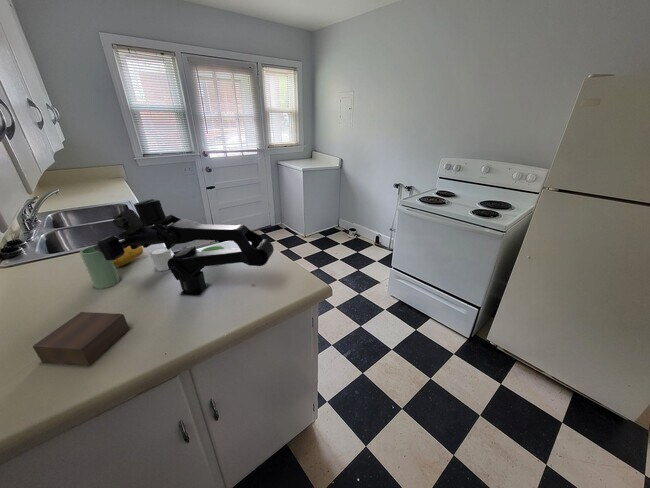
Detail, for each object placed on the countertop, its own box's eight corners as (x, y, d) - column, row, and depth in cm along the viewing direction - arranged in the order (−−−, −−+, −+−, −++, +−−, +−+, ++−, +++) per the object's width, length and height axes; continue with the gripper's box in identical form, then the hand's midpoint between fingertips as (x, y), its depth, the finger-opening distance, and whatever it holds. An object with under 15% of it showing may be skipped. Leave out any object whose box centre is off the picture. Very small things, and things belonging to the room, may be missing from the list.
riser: (129, 328, 72) (123, 313, 70) (89, 365, 61) (81, 349, 59) (88, 326, 73) (81, 311, 71) (42, 362, 62) (32, 346, 60)
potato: (102, 268, 102) (96, 252, 99) (137, 253, 114) (132, 238, 111) (115, 272, 100) (109, 255, 97) (150, 256, 111) (145, 241, 108)
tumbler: (124, 278, 96) (112, 244, 91) (108, 289, 90) (94, 254, 84) (106, 277, 97) (93, 244, 91) (89, 288, 90) (73, 253, 85)
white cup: (165, 272, 99) (160, 255, 96) (150, 270, 100) (144, 254, 98) (178, 263, 105) (174, 247, 102) (163, 262, 107) (158, 246, 104)
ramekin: (217, 253, 113) (215, 244, 111) (231, 259, 108) (229, 249, 106) (197, 262, 106) (195, 252, 104) (210, 268, 101) (208, 258, 99)
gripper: (160, 201, 87) (118, 208, 89) (113, 220, 70) (63, 228, 73) (173, 233, 91) (133, 238, 94) (132, 258, 74) (85, 264, 77)
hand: (107, 241), depth 84 cm, fingers open, 9 cm apart
